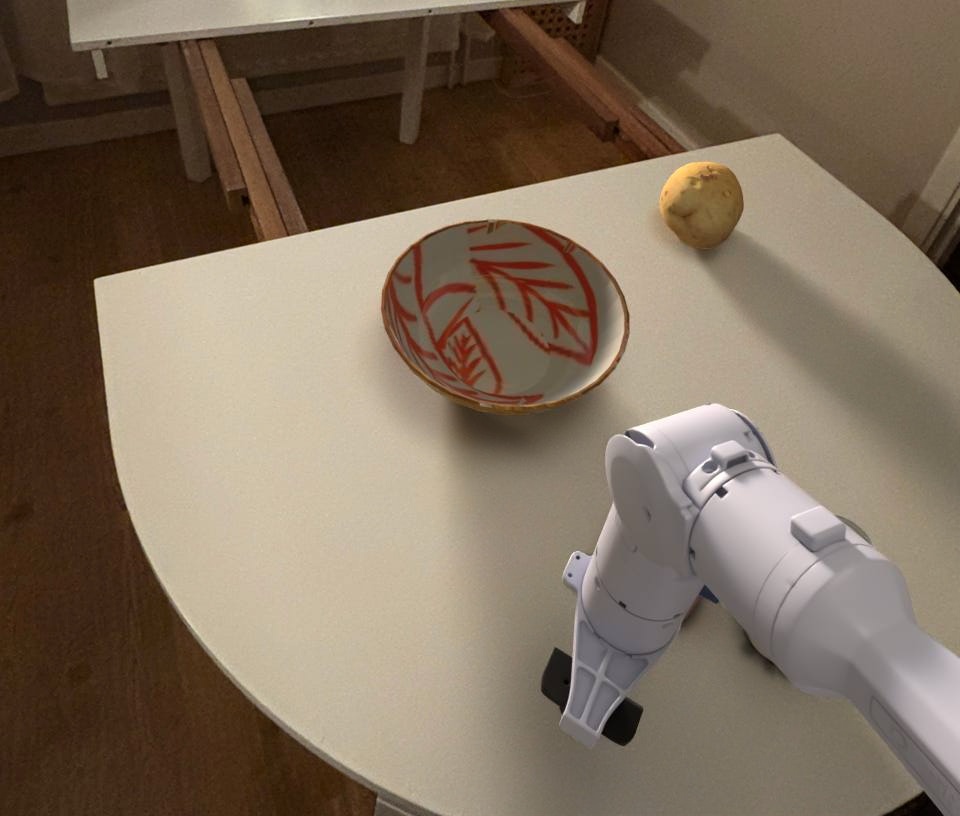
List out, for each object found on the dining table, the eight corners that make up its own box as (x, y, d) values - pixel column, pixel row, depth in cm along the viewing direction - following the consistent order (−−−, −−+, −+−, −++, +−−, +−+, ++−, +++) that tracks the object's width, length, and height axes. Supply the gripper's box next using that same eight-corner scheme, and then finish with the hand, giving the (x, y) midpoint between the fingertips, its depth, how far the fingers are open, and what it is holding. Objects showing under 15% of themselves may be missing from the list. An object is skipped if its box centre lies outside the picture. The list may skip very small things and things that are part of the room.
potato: (737, 214, 104) (760, 156, 98) (722, 273, 95) (747, 213, 88) (664, 190, 106) (682, 132, 100) (642, 245, 97) (661, 185, 91)
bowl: (555, 251, 95) (566, 202, 90) (657, 421, 77) (677, 372, 72) (356, 290, 87) (355, 239, 82) (418, 490, 69) (422, 441, 64)
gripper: (625, 430, 48) (587, 534, 57) (522, 649, 38) (494, 735, 46) (735, 487, 46) (678, 586, 54) (657, 736, 36) (601, 810, 44)
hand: (600, 659), depth 50 cm, fingers open, 7 cm apart
